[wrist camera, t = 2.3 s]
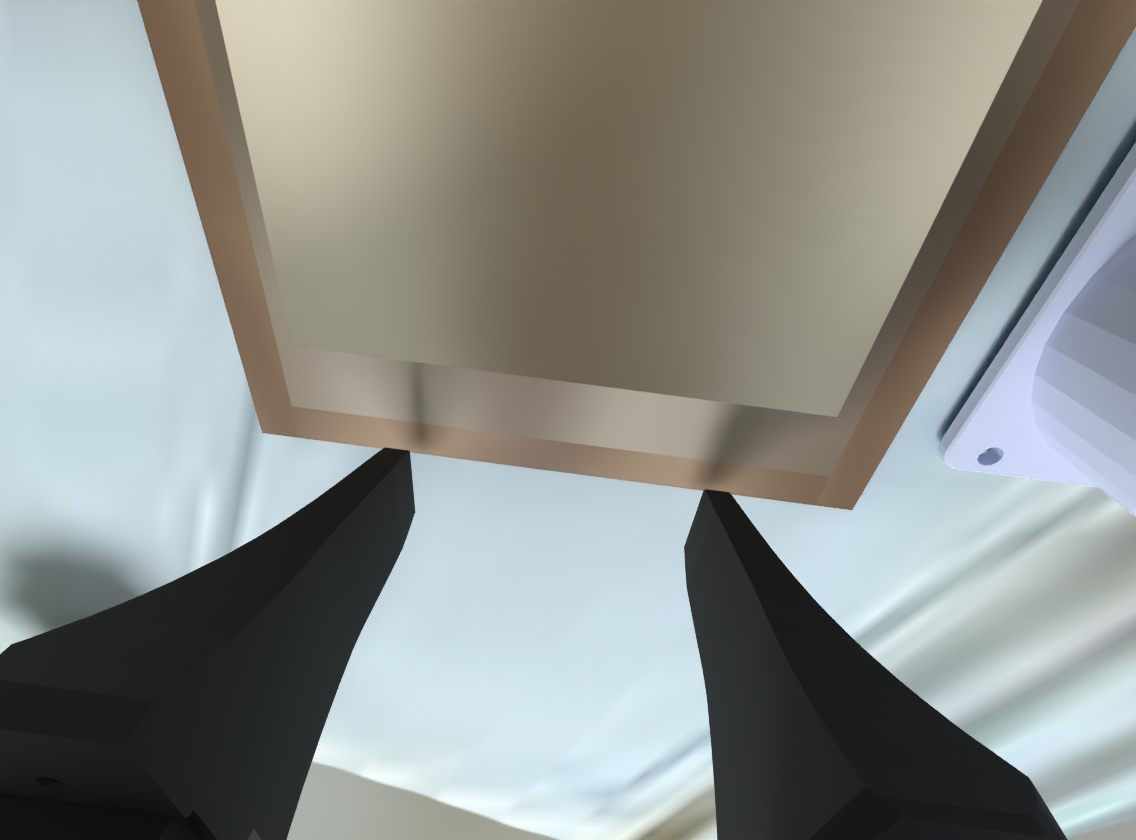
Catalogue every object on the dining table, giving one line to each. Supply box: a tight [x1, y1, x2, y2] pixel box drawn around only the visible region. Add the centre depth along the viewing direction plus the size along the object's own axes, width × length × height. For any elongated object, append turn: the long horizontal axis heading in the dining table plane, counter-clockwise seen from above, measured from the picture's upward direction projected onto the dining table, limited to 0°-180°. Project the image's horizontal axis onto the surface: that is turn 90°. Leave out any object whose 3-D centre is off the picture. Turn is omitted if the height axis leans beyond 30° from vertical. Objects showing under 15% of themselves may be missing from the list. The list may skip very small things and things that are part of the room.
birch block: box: [215, 0, 1042, 417], centre depth 7 cm, size 8×8×4 cm
